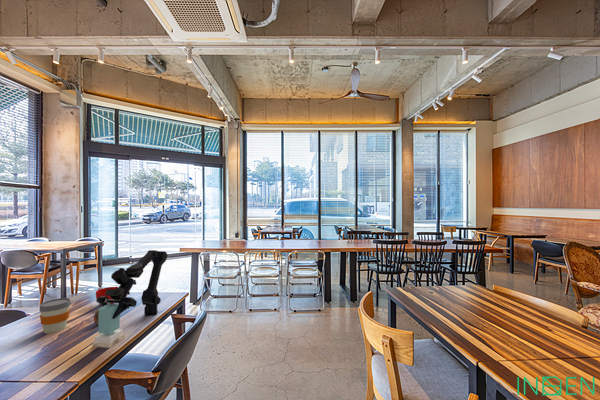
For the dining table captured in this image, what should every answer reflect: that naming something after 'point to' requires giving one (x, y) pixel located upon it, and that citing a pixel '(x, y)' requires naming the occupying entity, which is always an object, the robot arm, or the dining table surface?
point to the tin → (96, 317)
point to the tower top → (108, 337)
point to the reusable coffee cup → (54, 314)
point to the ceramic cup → (103, 292)
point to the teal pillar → (108, 319)
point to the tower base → (108, 345)
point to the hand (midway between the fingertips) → (107, 318)
